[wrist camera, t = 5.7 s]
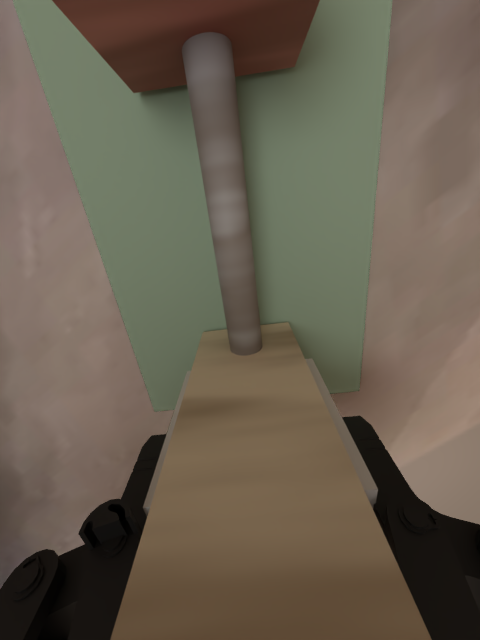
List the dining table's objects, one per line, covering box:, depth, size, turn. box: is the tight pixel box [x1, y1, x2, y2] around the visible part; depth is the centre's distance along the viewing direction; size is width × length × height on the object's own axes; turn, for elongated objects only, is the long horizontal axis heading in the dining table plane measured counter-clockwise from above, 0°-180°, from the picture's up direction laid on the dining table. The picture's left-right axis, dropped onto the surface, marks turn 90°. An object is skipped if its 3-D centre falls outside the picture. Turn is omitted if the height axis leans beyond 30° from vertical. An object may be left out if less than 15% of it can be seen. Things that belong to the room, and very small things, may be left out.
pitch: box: [13, 0, 392, 412], centre depth 11 cm, size 32×14×1 cm, turn 7°
